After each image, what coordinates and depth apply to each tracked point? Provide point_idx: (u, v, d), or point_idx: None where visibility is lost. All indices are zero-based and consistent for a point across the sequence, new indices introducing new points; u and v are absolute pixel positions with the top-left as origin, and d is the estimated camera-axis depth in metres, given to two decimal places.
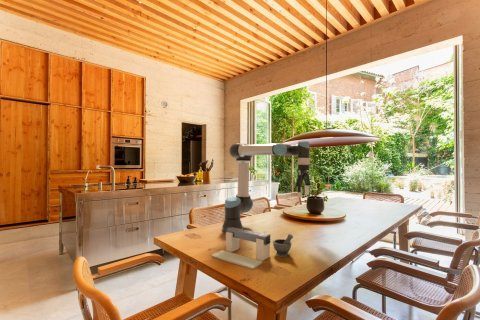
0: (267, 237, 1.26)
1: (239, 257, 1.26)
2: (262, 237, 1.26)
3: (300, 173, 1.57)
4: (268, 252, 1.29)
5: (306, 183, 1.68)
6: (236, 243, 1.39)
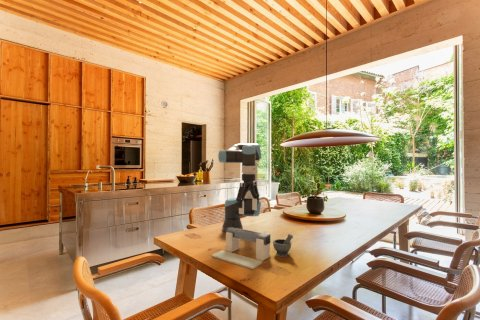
0: (267, 237, 1.26)
1: (239, 257, 1.26)
2: (262, 237, 1.26)
3: (242, 185, 1.28)
4: (268, 252, 1.29)
5: (254, 196, 1.39)
6: (236, 243, 1.39)
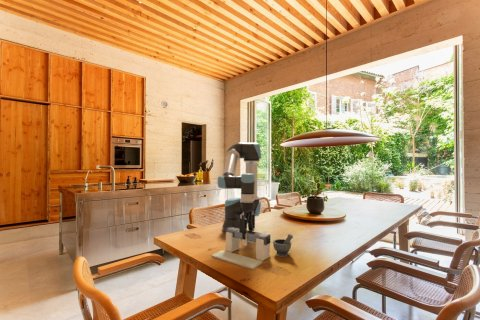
0: (267, 237, 1.26)
1: (239, 257, 1.26)
2: (262, 237, 1.26)
3: (241, 217, 1.28)
4: (268, 252, 1.29)
5: (249, 227, 1.36)
6: (236, 243, 1.39)
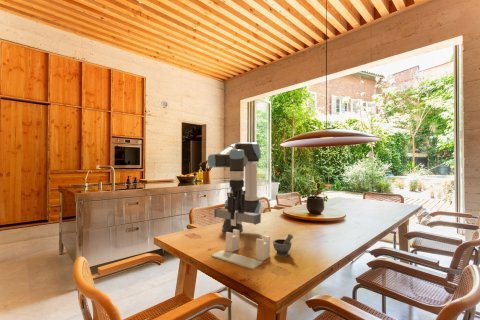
0: (257, 216, 1.17)
1: (239, 257, 1.26)
2: (251, 216, 1.17)
3: (229, 195, 1.20)
4: (268, 252, 1.29)
5: (239, 207, 1.27)
6: (236, 243, 1.39)
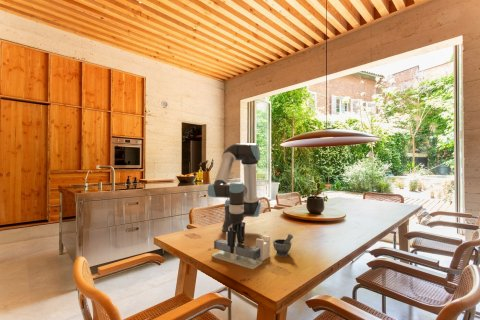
0: (257, 251, 1.17)
1: (239, 257, 1.26)
2: (251, 251, 1.17)
3: (229, 230, 1.20)
4: (268, 252, 1.29)
5: (238, 239, 1.27)
6: None
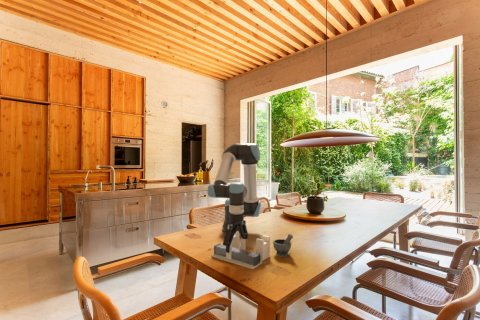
0: (257, 257, 1.17)
1: None
2: (251, 257, 1.17)
3: (229, 227, 1.19)
4: (268, 252, 1.29)
5: (242, 236, 1.30)
6: (236, 243, 1.39)
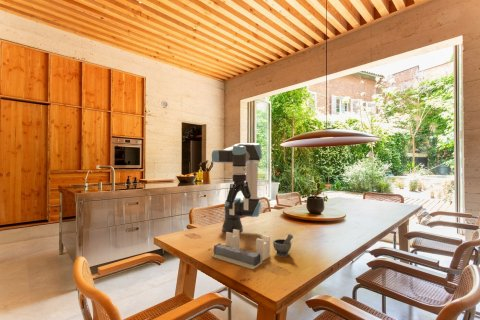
0: (257, 257, 1.17)
1: None
2: (251, 257, 1.17)
3: (232, 186, 1.28)
4: (268, 252, 1.29)
5: (245, 196, 1.39)
6: (236, 243, 1.39)
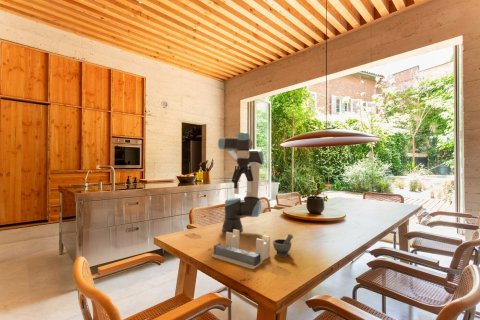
0: (257, 257, 1.17)
1: None
2: (251, 257, 1.17)
3: (237, 167, 1.42)
4: (268, 252, 1.29)
5: (248, 179, 1.53)
6: (236, 243, 1.39)
